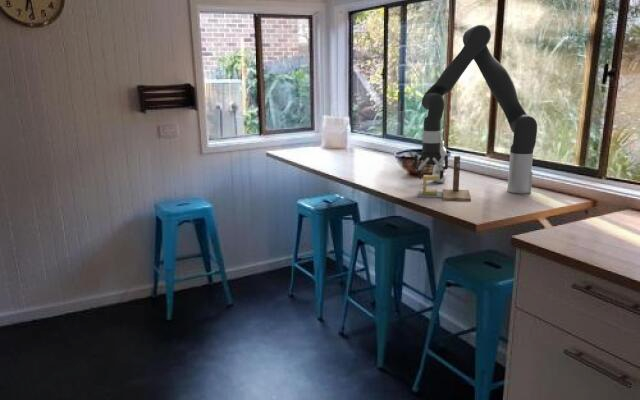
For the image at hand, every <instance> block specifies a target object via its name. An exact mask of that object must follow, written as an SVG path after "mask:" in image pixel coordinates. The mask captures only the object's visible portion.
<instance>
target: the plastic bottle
mask: <svg viewBox="0 0 640 400" xmlns="http://www.w3.org/2000/svg"><path fill="white" fill-rule="evenodd" d="M440 154H441V155H448V154H447V149H446V147H445V140H441V148H440ZM439 162H440V164H441V165H442V167H444V166H445V160H443V158H441V159H440V160H439ZM431 175H438V181H436V180H432V182H433V183H437V184H441V183H445V182H446V179H447V174H446V169H445V170H444V171H443V178H441V179H440V168H439V167H438V166H437V165H433V170H432V173H431Z"/></svg>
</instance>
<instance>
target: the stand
mask: <svg viewBox="0 0 640 400" xmlns="http://www.w3.org/2000/svg"><path fill="white" fill-rule="evenodd" d="M460 171H461V156H460V155H454V157H453V174H452V175H453V176H452V189H447V188H442V201H447V202H449V201H450V202H451V201H453V202H471V201H472V198H471V194H470V190H469V189H460V173H461V172H460Z"/></svg>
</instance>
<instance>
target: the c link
mask: <svg viewBox="0 0 640 400" xmlns="http://www.w3.org/2000/svg"><path fill="white" fill-rule="evenodd" d="M433 180H436V181H438V175H432V174H423V177H422V191H423V195H437V192H438V189H427V181H433Z"/></svg>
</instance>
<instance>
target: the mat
mask: <svg viewBox="0 0 640 400" xmlns="http://www.w3.org/2000/svg"><path fill="white" fill-rule="evenodd" d="M417 198H424V199H425V198H427V199H429V198H430V199H443V191H437V195H423V190H418V191H417Z"/></svg>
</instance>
